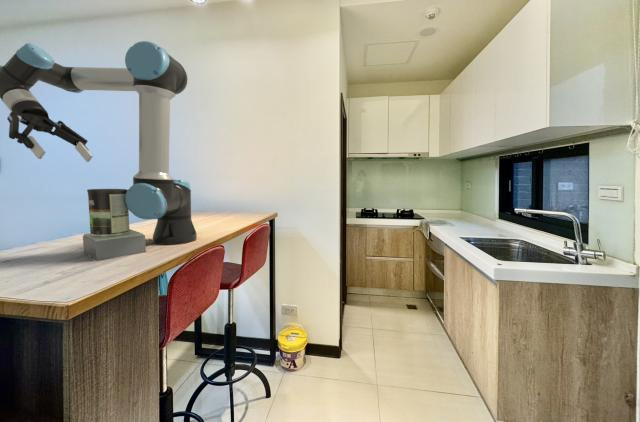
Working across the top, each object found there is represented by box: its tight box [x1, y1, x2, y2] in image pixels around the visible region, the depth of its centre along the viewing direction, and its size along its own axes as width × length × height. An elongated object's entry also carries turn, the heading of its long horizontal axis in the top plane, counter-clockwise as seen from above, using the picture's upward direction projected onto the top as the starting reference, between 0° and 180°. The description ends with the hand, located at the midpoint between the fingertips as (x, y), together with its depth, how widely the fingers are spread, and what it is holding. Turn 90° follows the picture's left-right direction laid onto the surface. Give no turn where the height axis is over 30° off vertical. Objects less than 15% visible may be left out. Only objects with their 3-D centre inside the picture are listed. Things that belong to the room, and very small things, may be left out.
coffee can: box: [86, 188, 130, 237], centre depth 90 cm, size 10×10×14 cm
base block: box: [82, 228, 147, 261], centre depth 91 cm, size 13×13×6 cm
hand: (67, 157), depth 88 cm, fingers open, 13 cm apart
